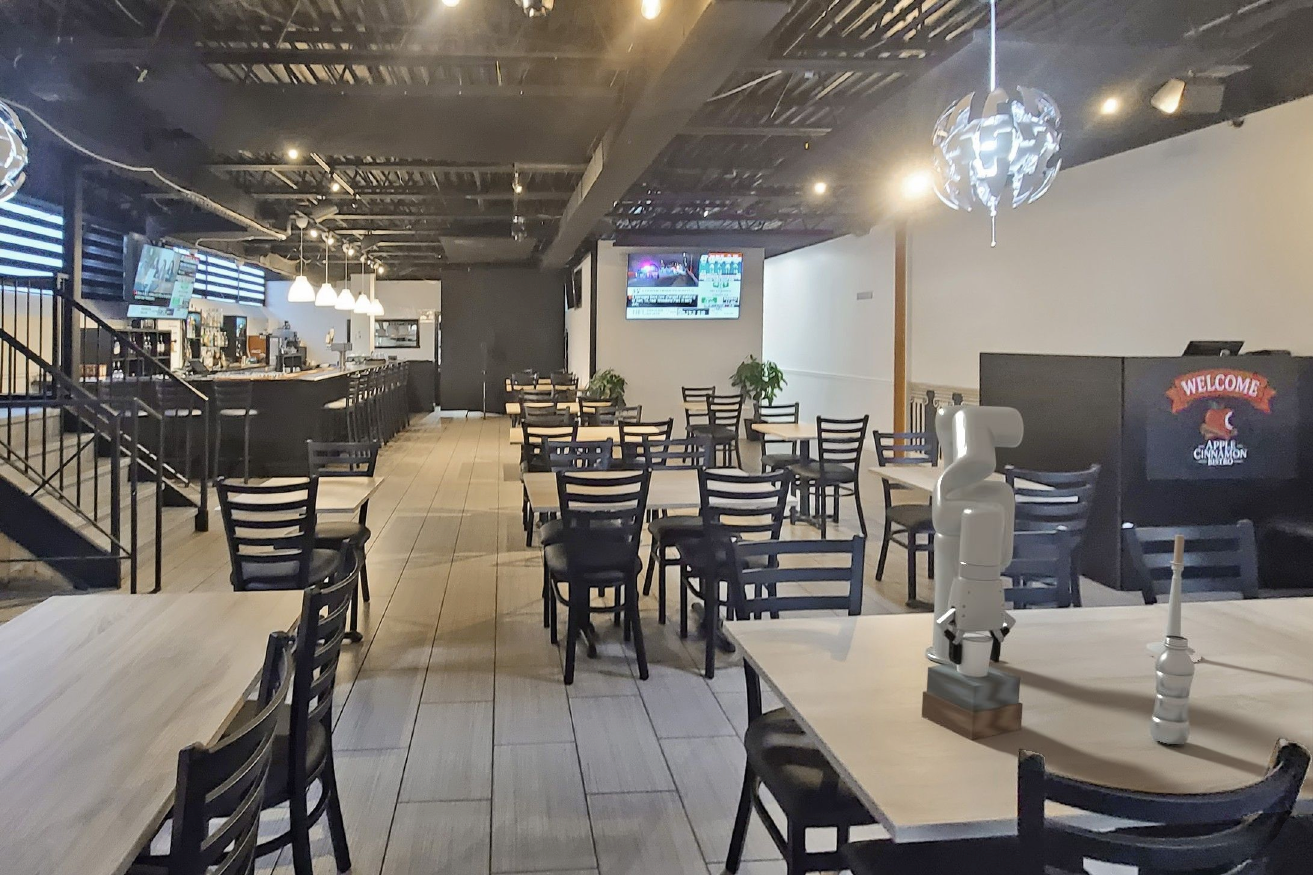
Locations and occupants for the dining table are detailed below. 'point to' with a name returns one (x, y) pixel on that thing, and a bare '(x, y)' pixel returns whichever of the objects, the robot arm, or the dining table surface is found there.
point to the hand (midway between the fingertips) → (974, 660)
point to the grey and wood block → (972, 701)
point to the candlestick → (1174, 599)
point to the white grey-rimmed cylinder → (975, 654)
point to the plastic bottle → (1172, 692)
